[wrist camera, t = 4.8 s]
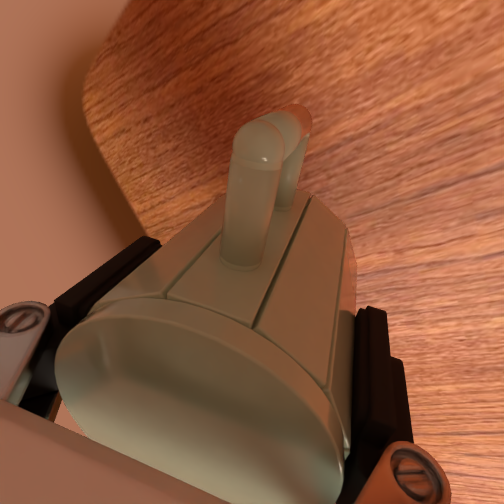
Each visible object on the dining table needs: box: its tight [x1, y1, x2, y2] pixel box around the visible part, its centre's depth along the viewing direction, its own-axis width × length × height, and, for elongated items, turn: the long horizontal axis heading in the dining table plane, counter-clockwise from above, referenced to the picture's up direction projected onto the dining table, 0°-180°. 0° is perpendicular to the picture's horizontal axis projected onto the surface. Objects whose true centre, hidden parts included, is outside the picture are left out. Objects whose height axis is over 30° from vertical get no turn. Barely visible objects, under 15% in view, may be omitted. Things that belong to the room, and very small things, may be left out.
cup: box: [54, 104, 357, 504], centre depth 10 cm, size 7×10×8 cm
